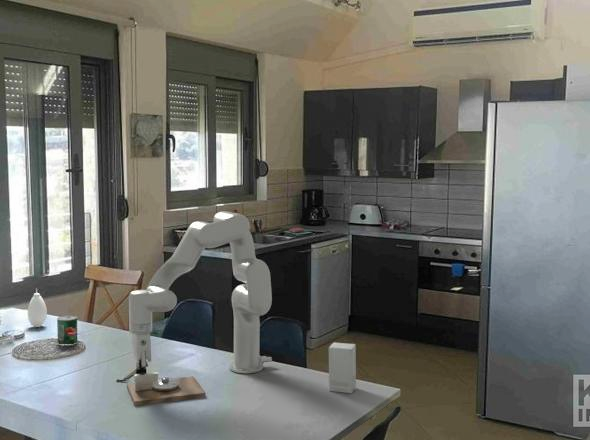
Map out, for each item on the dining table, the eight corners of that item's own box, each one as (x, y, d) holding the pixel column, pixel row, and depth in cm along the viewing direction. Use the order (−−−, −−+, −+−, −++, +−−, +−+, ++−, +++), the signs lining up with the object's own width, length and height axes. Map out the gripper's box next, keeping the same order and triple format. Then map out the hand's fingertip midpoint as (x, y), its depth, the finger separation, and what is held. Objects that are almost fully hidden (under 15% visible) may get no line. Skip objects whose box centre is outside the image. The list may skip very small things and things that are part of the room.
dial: (175, 380, 235) (175, 366, 234) (181, 389, 227) (181, 374, 226) (132, 385, 229) (132, 370, 229) (137, 394, 221) (136, 379, 221)
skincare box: (356, 388, 235) (357, 343, 234) (351, 394, 229) (352, 349, 228) (332, 384, 238) (333, 341, 236) (327, 391, 232) (328, 346, 230)
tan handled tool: (132, 386, 237) (133, 383, 237) (115, 383, 238) (115, 380, 238) (159, 367, 257) (159, 364, 257) (143, 363, 259) (143, 361, 258)
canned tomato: (74, 346, 279) (73, 320, 278) (54, 346, 279) (54, 319, 278) (80, 341, 287) (79, 315, 286) (61, 340, 287) (61, 315, 286)
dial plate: (193, 380, 241) (193, 375, 241) (205, 396, 225) (205, 392, 225) (126, 388, 232) (126, 383, 232) (134, 405, 217) (134, 400, 216)
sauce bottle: (24, 328, 304) (23, 289, 302) (34, 324, 312) (33, 285, 310) (41, 329, 303) (40, 290, 301) (50, 325, 311) (49, 286, 309)
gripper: (156, 332, 224) (156, 386, 226) (148, 320, 238) (148, 372, 240) (132, 334, 221) (133, 388, 223) (126, 322, 235) (126, 374, 237)
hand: (141, 380), depth 231 cm, fingers closed
